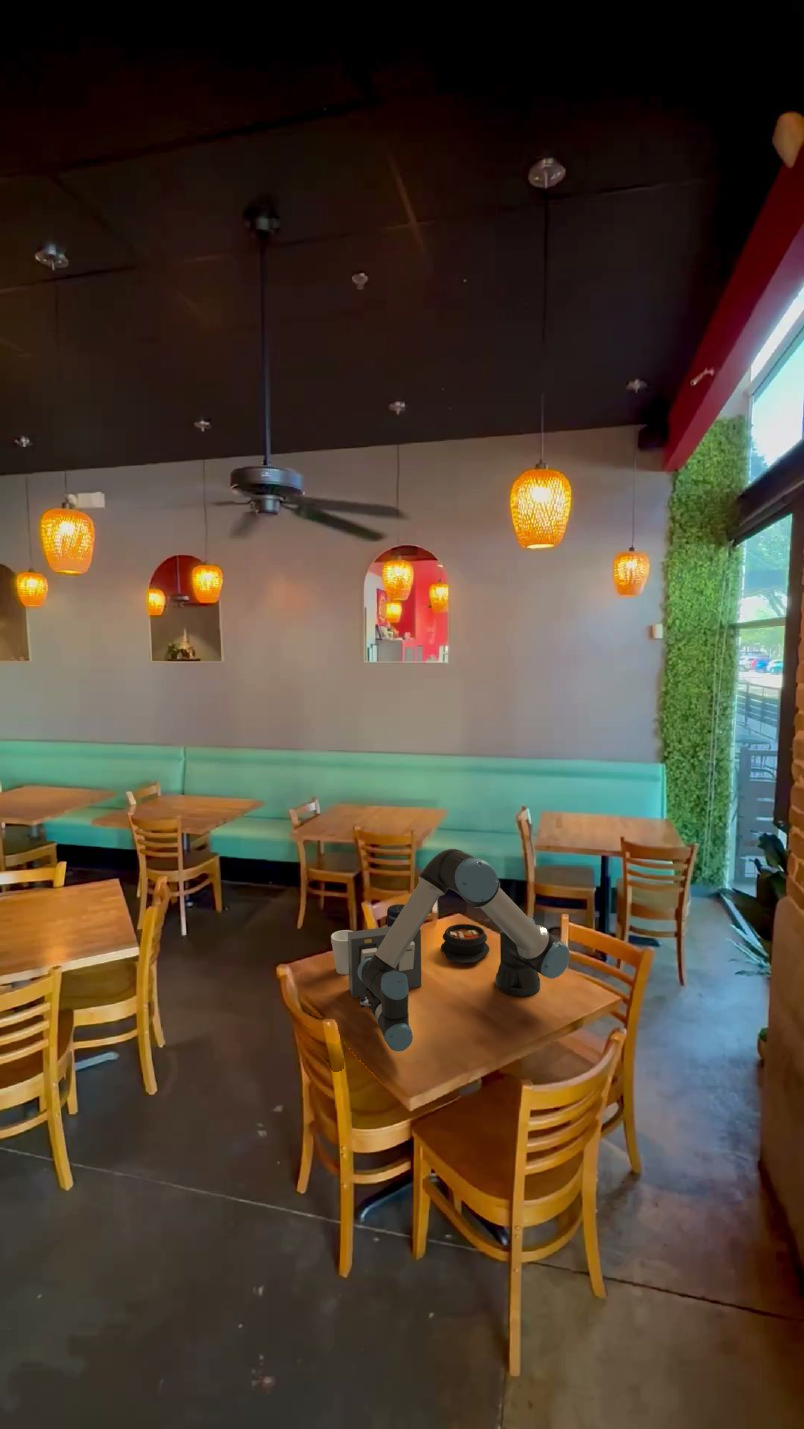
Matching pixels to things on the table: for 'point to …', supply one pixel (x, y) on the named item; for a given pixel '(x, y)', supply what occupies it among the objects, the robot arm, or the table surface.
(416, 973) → the switch panel
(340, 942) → the foam cup
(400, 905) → the canister
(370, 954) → the left rocker
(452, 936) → the casserole
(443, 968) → the table surface
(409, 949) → the right rocker
